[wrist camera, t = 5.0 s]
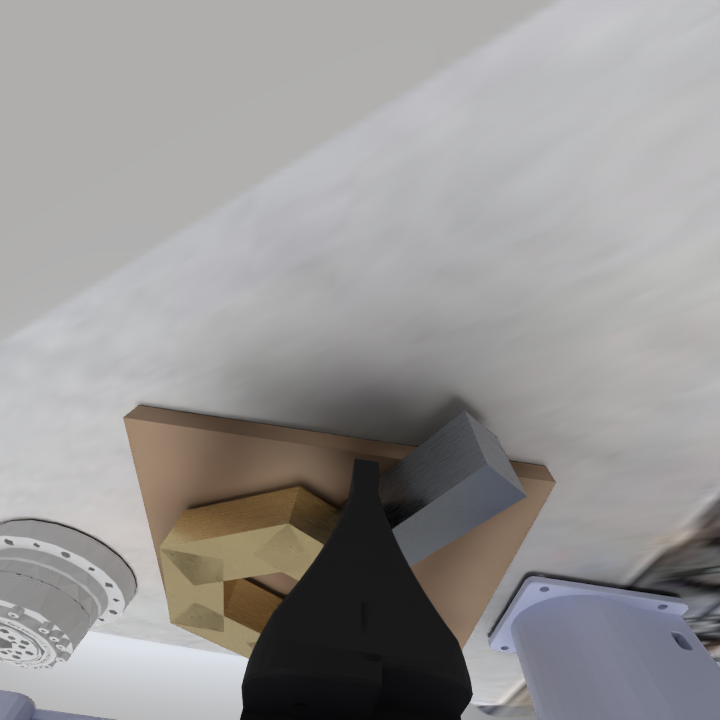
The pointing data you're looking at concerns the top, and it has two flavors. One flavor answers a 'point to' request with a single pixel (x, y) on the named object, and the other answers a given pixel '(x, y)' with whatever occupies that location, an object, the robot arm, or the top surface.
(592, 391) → the top surface
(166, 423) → the mount board
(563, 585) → the robot arm
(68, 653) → the mechanical component
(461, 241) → the top surface
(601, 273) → the top surface
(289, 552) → the handled hexagon ring
